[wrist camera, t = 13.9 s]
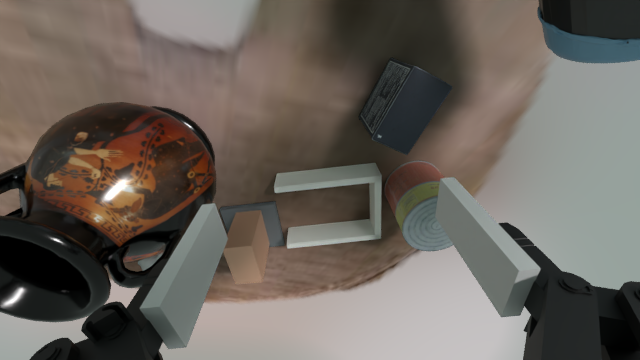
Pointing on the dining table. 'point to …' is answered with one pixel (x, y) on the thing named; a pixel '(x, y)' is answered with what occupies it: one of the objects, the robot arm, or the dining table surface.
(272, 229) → the slate mat
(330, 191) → the dining table surface
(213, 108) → the dining table surface
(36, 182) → the amphora vase
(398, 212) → the canned food
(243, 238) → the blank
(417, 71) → the small box
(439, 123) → the dining table surface
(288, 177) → the slot rack
